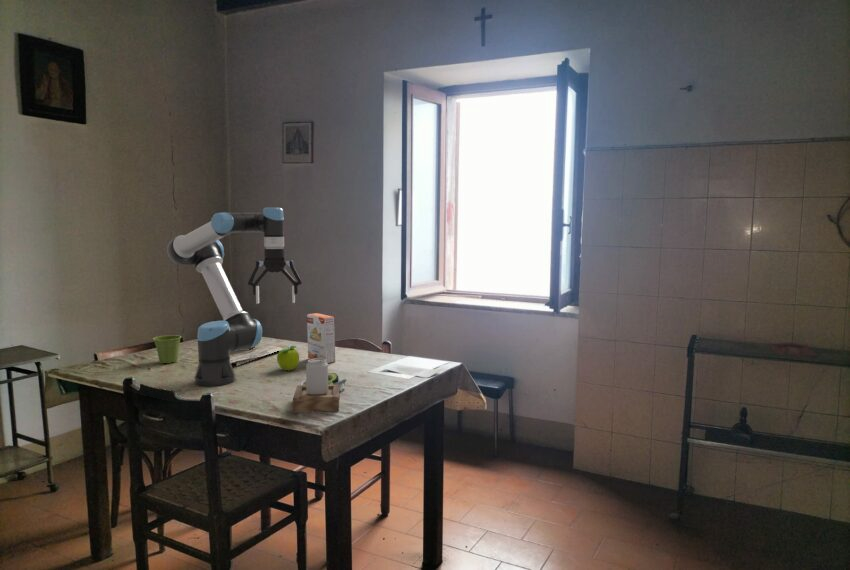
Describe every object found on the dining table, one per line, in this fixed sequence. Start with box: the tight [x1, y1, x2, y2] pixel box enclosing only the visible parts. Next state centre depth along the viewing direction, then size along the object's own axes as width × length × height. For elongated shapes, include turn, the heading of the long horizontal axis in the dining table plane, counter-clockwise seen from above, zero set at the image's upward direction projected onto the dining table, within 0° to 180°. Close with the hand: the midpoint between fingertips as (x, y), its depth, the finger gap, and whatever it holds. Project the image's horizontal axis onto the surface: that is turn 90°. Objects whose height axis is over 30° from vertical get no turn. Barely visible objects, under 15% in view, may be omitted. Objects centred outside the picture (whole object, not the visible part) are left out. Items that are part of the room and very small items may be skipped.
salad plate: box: [299, 372, 347, 392], centre depth 227 cm, size 19×18×5 cm
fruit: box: [276, 345, 300, 371], centre depth 255 cm, size 9×9×10 cm
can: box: [305, 358, 329, 396], centre depth 207 cm, size 8×8×12 cm
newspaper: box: [230, 345, 284, 367], centre depth 276 cm, size 35×12×4 cm, turn 159°
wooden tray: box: [292, 384, 341, 414], centre depth 208 cm, size 15×15×5 cm
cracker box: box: [306, 312, 336, 364], centre depth 271 cm, size 14×6×21 cm, turn 44°
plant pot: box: [152, 334, 182, 364], centre depth 268 cm, size 12×12×11 cm
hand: (275, 302), depth 232 cm, fingers open, 13 cm apart
